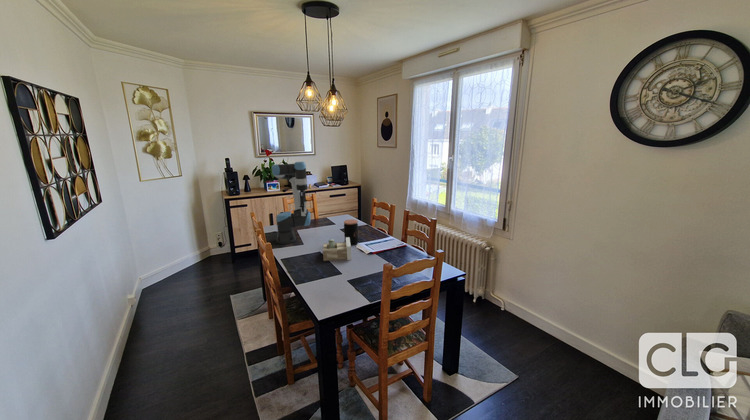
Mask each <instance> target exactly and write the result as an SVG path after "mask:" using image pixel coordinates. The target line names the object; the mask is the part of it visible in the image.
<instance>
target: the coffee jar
mask: <svg viewBox="0 0 750 420" xmlns="http://www.w3.org/2000/svg"><path fill="white" fill-rule="evenodd" d="M343 232H344V233H343V234H344V242H346V237H350V244H351V246H357V245H358V244H359V243H360V242H359V224H358V220H357V219H346V220H344V221H343Z"/></svg>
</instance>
